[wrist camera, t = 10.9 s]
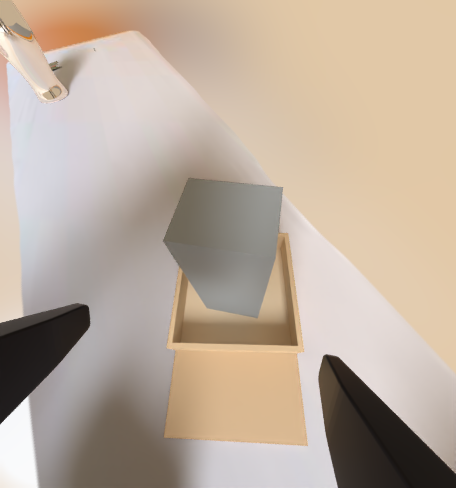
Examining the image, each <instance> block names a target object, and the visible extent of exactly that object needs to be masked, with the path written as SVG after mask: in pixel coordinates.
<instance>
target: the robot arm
mask: <svg viewBox="0 0 456 488" xmlns="http://www.w3.org/2000/svg"><path fill="white" fill-rule="evenodd" d="M89 326H90V314H89V307H88V306H87V305H84V304H79V303H77V304H72V305H68V306H65V307H61V308H57V309H53V310H49V311H45V312H41V313H37V314H34V315H30V316H26V317H22V318H18V319H14V320H10V321H6V322H2V323H0V424H1V423H2V422H3V421H4V420H5V419H6V418H7V417H8V416H9V415H10V414H11V413H12V412H13V411H14V409H16V407H18V405H19V404H20V403H21V402H22V401H23V400H24V399H25V398H26V397H27V396H28V395H29V394H30V393H31V392H32V391H33V390H34V389H35V388H36V387H37V386H38V385H39V384H40V383H41V382H42V381H43V380H44V379H45V378H46V377H47V376H48V375H49V374H50V373H51V372H52V371H53V370H54V368H55V367H56V366H57V365H58V364H59V363H60V362H61V361H62V360H63V358H64V357H65V356H66V355H67V354H68V352H69V351H70V350H71V349H72V348H73V347H74V345H75V344H76V343H77V342H78V341H79V339H80V338H81V337H82V336H83V335H84V333H85V332H86V331H87V330H88V328H89ZM319 388H320V395H321V403H322V410H323V418H324V425H325V432H326V437H327V442H328V447H329V451H330V455H331V460H332V464H333V468H334V473H335V477H336V481H337V486H338V488H456V474H455V473H454V472H453V471H452V470H451V469H450V468H449V467H448V466H447V465H446V464H445V463H444V462H443V461H442V460H441V459H440V458H439V457H438V456H437V455H436V454H435V453H434V452H433V451H432V450H431V449H430V448H429V447H428V446H427V445H426V444H425V443H424V442H423V441H422V440H421V439H420V438H419V437H418V436H417V435H416V434H415V433H414V432H413V431H412V430H411V429H410V428H409V427H408V426H407V425H406V424H405V423H404V422H403V421H402V420H401V419H400V418H399V417H398V416H397V415H396V414H395V413H394V412H393V411H392V410H391V409H390V408H389V407H388V406H387V405H386V404H385V403H384V402H383V401H382V400H381V399H380V398H379V397H378V396H377V395H376V394H375V393H374V392H373V391H372V390H371V389H370V388H369V387H368V386H367V385H366V384H365V383H364V382H363V381H362V380H361V379H360V378H359V377H358V376H357V375H356V374H355V373H354V372H353V371H352V370H351V369H350V368H349V367H348V366H347V365H346V364H345V363H344V362H343V361H342V360H341V359H340V358H339V357H337V356H333V355H328V354H326V355H324V356H323V359H322V363H321V367H320V371H319Z"/></svg>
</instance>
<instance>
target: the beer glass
mask: <svg viewBox="0 0 456 488" xmlns="http://www.w3.org/2000/svg"><path fill="white" fill-rule="evenodd" d="M0 53H1V54H2V55H3V56H4V57H5V58H6V59H7V60H8V61H9V62H10V63H11V64H12V65H13V66H14V67H15V68H16V69H17V71H18V72H19V73H20V74H21V75H22V76H23V77H24V78H25V79H26V81H27V82H28V83H29V85H30V86H31V87H32V89H33V91H34V92H35V94H36V96H37V98H38V99H39V101H40V102H41V103H45V104H50V103H55V102H58V101H60V100H62V99H64V98H65V97H66V96H67V95H68V91H67V89H66V88H65V87H64V86H63V84H62V83H61V82H60V81H59V80H58V78H57V77H56V76H55V74H54V73H53V71H52V69H51V68H50V66H49V64H48V62H47V60H46V58H45V55H44V53H43V51H42V49H41V48H40V45H39V43H38V42H37V40H36V38H35V36H34V34H33V32H32V30H31V29H30V27H29V25H28V24H27V22H26V21H25V19H24V18H23V16H22V15H21V13H20V12H19V10H18V9H17V7H16V6H15V5H14V3H13V2H12V0H0Z"/></svg>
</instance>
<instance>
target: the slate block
mask: <svg viewBox="0 0 456 488" xmlns="http://www.w3.org/2000/svg"><path fill="white" fill-rule="evenodd" d="M282 191H283V187H275V186H264V185H254V184H244V183H234V182H223V181H213V180H203V179H193V178H189V179H188V181H187V183H186V186H185V188H184V191H183V193H182V196H181V198H180V201H179V203H178V206H177V208H176V210H175V213H174V215H173V218H172V220H171V223H170V225H169V228H168V230H167V232H166V235H165V237H164V240H163V242H164V243H165V245H166V246H167V248H168V249H169V251H170V252H171V254H172V255H173V257H174V259H175V260H176V262H177V263H178V265H179V266H180V268H181V269H182V271H183V272H184V274H185V275H186V277H187V278H188V280H189V282H190V283H191V285H192V286H193V288H194V289H195V291H196V292H197V294H198V295H199V297H200V298H201V300H202V302H203V303H204V305H205V306H206V308H208V309H213V310H218V311H223V312H228V313H233V314H239V315H244V316H249V317H254V318H258V315H259V312H260V309H261V305H262V302H263V299H264V295H265V292H266V289H267V285H268V282H269V279H270V275H271V272H272V268H273V265H274V262H275V258H276V250H277V240H278V230H279V221H280V211H281V201H282Z"/></svg>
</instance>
